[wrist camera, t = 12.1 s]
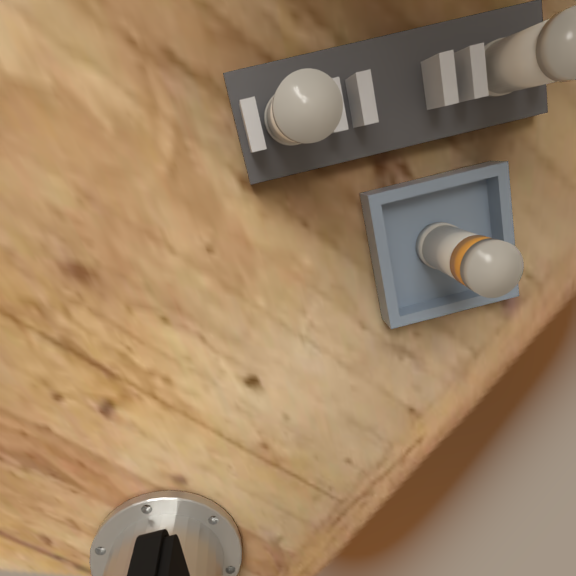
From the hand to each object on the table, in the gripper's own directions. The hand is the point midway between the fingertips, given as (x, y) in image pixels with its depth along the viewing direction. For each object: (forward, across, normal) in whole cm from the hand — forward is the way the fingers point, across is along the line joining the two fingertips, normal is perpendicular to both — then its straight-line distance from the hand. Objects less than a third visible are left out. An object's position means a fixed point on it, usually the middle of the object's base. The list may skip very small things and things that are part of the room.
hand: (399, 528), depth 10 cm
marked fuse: (+25, -12, 0) cm, 28 cm away
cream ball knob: (+23, -17, -11) cm, 31 cm away
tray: (+25, -12, 0) cm, 28 cm away
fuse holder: (+25, -10, -11) cm, 29 cm away
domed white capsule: (+24, -3, -10) cm, 26 cm away
